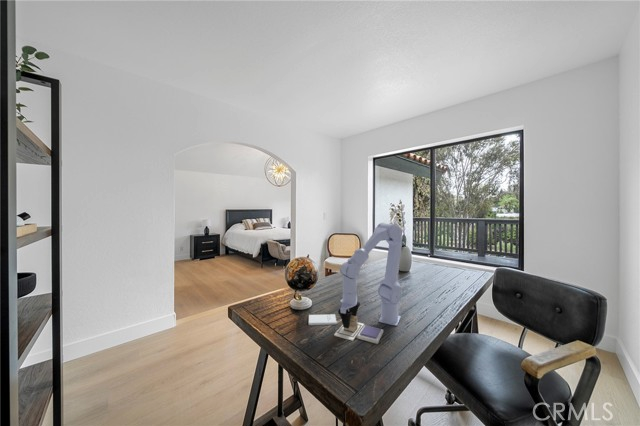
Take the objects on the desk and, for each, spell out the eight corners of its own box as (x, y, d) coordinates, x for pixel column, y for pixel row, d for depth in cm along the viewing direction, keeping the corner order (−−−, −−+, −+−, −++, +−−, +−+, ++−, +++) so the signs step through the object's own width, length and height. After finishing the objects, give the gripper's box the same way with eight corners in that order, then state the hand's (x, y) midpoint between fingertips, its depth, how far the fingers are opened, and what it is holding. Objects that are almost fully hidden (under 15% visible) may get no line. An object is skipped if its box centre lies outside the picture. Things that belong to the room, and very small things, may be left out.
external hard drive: (308, 317, 112) (335, 317, 112) (308, 326, 104) (336, 325, 104) (308, 314, 112) (335, 313, 112) (308, 323, 103) (336, 322, 104)
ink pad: (364, 327, 101) (364, 323, 101) (383, 332, 97) (383, 328, 97) (357, 338, 93) (357, 333, 93) (377, 343, 89) (377, 339, 89)
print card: (347, 320, 107) (347, 319, 107) (364, 324, 104) (364, 323, 104) (333, 335, 95) (333, 334, 95) (352, 340, 91) (352, 339, 91)
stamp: (347, 325, 102) (347, 314, 102) (357, 328, 100) (357, 316, 100) (343, 330, 98) (343, 318, 98) (353, 333, 96) (353, 321, 96)
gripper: (347, 284, 107) (347, 314, 108) (333, 295, 94) (333, 329, 95) (362, 287, 104) (362, 317, 104) (349, 298, 91) (350, 333, 91)
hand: (349, 323), depth 99 cm, fingers open, 7 cm apart
